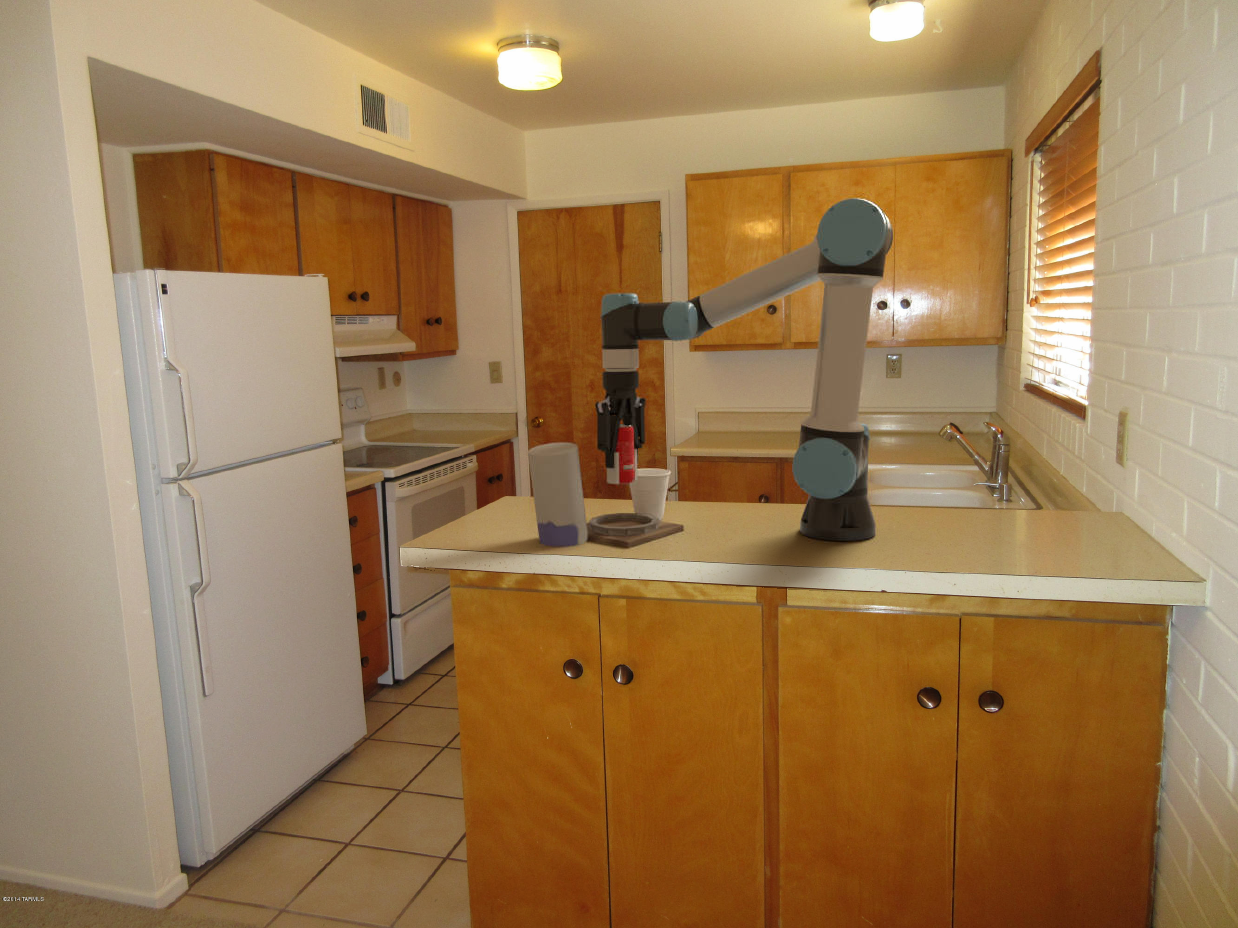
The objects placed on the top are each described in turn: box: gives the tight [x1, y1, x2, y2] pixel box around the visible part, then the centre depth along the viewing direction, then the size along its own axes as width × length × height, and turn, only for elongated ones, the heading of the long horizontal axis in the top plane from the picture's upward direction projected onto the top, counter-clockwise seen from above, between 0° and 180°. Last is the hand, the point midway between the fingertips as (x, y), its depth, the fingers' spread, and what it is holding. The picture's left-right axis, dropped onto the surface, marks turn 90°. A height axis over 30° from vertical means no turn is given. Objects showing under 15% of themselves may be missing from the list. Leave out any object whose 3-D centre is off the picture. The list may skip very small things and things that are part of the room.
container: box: [527, 442, 589, 548], centre depth 173 cm, size 10×10×20 cm
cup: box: [628, 467, 672, 521], centre depth 191 cm, size 10×10×11 cm
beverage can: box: [610, 423, 634, 485], centre depth 178 cm, size 5×5×12 cm
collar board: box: [586, 512, 685, 549], centre depth 180 cm, size 18×18×3 cm
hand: (622, 480), depth 179 cm, fingers closed on beverage can, 5 cm apart
